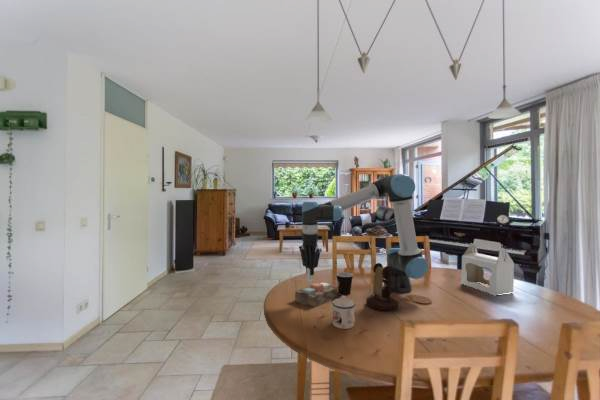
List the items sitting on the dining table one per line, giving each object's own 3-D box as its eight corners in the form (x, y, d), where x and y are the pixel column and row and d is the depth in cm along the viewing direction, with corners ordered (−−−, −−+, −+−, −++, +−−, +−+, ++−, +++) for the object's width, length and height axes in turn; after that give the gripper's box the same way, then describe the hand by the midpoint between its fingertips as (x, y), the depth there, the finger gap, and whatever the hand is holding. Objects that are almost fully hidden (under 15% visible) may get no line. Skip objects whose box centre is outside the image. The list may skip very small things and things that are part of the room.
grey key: (308, 297, 144) (308, 287, 144) (315, 299, 141) (315, 289, 141) (302, 299, 141) (302, 289, 141) (309, 301, 138) (309, 291, 138)
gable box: (513, 294, 158) (515, 243, 157) (496, 296, 153) (497, 244, 153) (477, 282, 179) (478, 237, 178) (460, 284, 174) (461, 238, 174)
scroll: (360, 302, 141) (360, 262, 141) (384, 299, 147) (384, 260, 147) (379, 314, 128) (380, 269, 128) (405, 309, 134) (406, 266, 133)
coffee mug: (352, 296, 150) (352, 277, 150) (335, 295, 152) (335, 276, 152) (352, 289, 162) (353, 271, 161) (337, 288, 163) (337, 270, 163)
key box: (319, 292, 156) (319, 282, 156) (337, 297, 148) (337, 287, 148) (295, 301, 142) (295, 290, 142) (313, 307, 134) (313, 296, 134)
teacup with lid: (327, 321, 120) (328, 293, 120) (346, 318, 123) (346, 291, 123) (343, 334, 109) (344, 304, 109) (363, 330, 113) (363, 300, 112)
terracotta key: (316, 292, 149) (316, 282, 148) (322, 294, 146) (323, 284, 145) (310, 294, 145) (310, 284, 145) (317, 296, 142) (317, 286, 142)
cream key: (323, 291, 153) (323, 282, 153) (329, 293, 150) (330, 284, 150) (318, 293, 150) (318, 284, 150) (324, 295, 147) (324, 286, 147)
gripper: (294, 232, 142) (295, 280, 143) (315, 235, 133) (315, 285, 134) (305, 231, 148) (305, 277, 148) (325, 233, 139) (325, 282, 139)
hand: (310, 281), depth 141 cm, fingers closed
